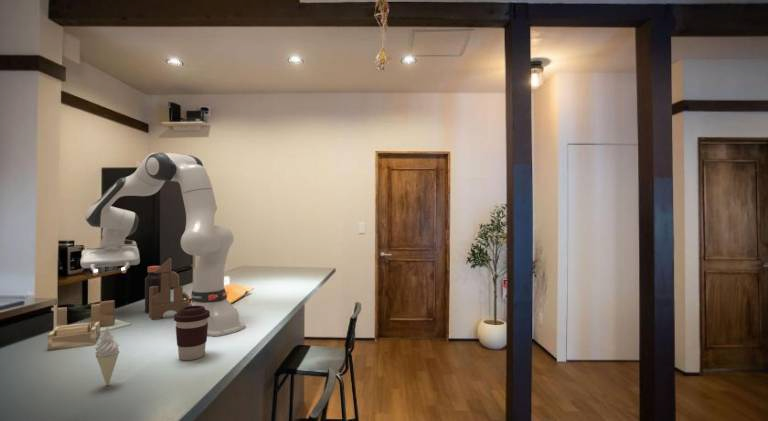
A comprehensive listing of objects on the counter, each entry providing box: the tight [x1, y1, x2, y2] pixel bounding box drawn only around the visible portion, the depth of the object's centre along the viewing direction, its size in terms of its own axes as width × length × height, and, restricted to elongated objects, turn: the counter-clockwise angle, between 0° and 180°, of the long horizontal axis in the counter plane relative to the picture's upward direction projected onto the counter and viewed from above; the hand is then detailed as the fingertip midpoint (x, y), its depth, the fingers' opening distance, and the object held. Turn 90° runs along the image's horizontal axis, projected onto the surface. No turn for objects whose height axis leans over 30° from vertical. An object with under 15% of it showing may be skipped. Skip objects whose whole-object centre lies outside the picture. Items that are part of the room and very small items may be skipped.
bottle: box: [144, 265, 161, 314], centre depth 171 cm, size 7×7×20 cm
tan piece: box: [47, 303, 101, 352], centre depth 131 cm, size 12×12×11 cm
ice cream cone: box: [94, 327, 120, 386], centre depth 98 cm, size 5×5×15 cm
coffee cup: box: [173, 305, 210, 361], centre depth 118 cm, size 10×10×15 cm
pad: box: [90, 318, 132, 333], centre depth 148 cm, size 12×12×1 cm
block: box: [98, 299, 116, 327], centre depth 148 cm, size 4×4×9 cm
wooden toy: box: [148, 257, 191, 320], centre depth 163 cm, size 16×7×25 cm, turn 111°
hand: (109, 273), depth 156 cm, fingers open, 8 cm apart
